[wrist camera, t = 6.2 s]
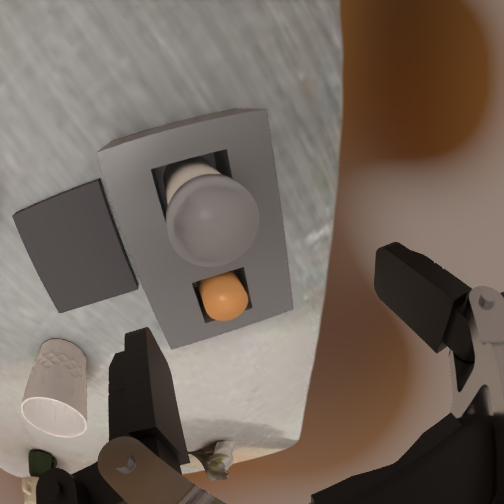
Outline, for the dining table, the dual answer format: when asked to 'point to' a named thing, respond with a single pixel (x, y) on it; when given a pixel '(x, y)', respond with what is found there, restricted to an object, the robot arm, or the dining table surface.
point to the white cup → (57, 390)
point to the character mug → (36, 474)
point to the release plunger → (223, 296)
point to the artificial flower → (217, 460)
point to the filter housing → (155, 230)
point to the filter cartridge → (208, 213)
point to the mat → (76, 247)
